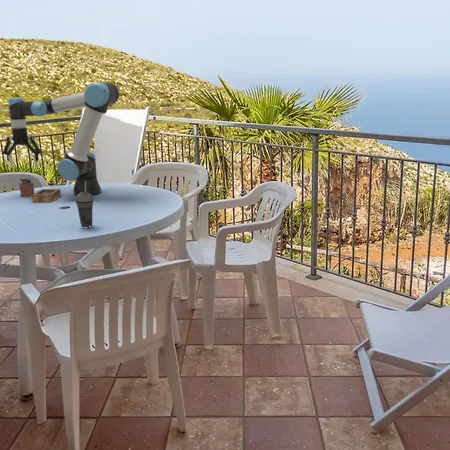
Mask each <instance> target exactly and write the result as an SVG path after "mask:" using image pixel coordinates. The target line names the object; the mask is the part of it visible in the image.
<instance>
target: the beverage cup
mask: <svg viewBox="0 0 450 450" xmlns="http://www.w3.org/2000/svg"><path fill="white" fill-rule="evenodd" d="M75 203H76V206H77V210H78V211H77V212H78V216H79V222H80V226H81V228H82V227H89V226H92V227H93V205H94V199H93V195H91V194H90V193H88V192H86V181H85V191H83V192H80V193H79V194H78V195H76V198H75Z"/></svg>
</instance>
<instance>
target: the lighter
mask: <svg viewBox="0 0 450 450" xmlns="http://www.w3.org/2000/svg"><path fill="white" fill-rule="evenodd" d="M18 185H19V186H18V187H19V191H20V198H32V194H34V193H35V187H34V182H32V179H31V178H19V183H18Z"/></svg>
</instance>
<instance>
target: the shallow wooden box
mask: <svg viewBox="0 0 450 450" xmlns="http://www.w3.org/2000/svg"><path fill="white" fill-rule="evenodd" d="M61 197H62V193H61V189H60V188H59V189H58V188H57V189H56V188H48V189H47V188H43V189H40V190H38V191H36V192H34V194H32V197H31V199H32V200H31V201H32V203H40V204H41V203H42V204H43V203H45V204H46V203H53V202H55V201H57V200H58V199H59V198H61Z"/></svg>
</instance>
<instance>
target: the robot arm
mask: <svg viewBox="0 0 450 450" xmlns="http://www.w3.org/2000/svg"><path fill="white" fill-rule="evenodd" d="M119 99H120V91H119V88H118V87H117V85H115V84H114V83H112V82H109V81H105V82H104V81H95V82H92V83H90V84H88V85H87V86H86V87H85V90H84V91H83V92H78V93H74V94H68V95H65V96H61V97H56V98H51V99H47V100H45V99H44V100H35V101H34V100H33V101H31V100H29V101H25V100H24V98H23V97H9V98H8V100H7V101H8V110H9V115H10V126H11V134H12V136H7V137H6V142H5V145H4V147H3V148H4V149H3V151H2V154H3V155H6V158H7V162H9V168H10V169H11V168H14V160H13V159H14V158H13V155H12V153H13V151H14V150H15V148H16V147H17V146H26V147H27V148H28V150H30V151H31V153H32V154H33V157H32V158H33V164H34V165H33V166H34V168H38V167H39V165H38V164H39V163H38V161H39V159H40V158H39V155H40V154H42V151H41V149H40V147H39V145H38V144H37V142H36V140H35V137H34V136H28V129H27V128H28V127H27V121H26V117H44V116H45V115H46V116H47V115H55V114H57V113H62V112H66V111H72V110H76V109H81V108H85V109H84V112H83V114H82V118H81V121H80V122H79V125H78V128H77V130H76V131H77V132H76V133H75V136H74V139H73V142H72V144H71V147H70V149H67V150H66V151H65V155H64V158H62V159H60V161H59V162H58V163H57V172H58V173H59V176H60V177H61V178H62V179H64V180H67V181H74V185H73V189H72V190H73V195H74V196H77V195H78V194H79V193H80V192H83V191H85V181H86V192H88V193H90V194H91V195H92V196H95V195H98V194H101V193H102V188H101V185H100V183H99V180H98V176H97V173H98V172H97V163H96V155H95V153H94V152H89V150H90V147H91V145H92V142H93V139H94V136H95V135H96V131H97V129H98V127H99V124H100V122H101V120H102V119H101V118H102V116H103V115H105V114H107V112H108V110H109V106H112V105H114V104H116V103H117V102H118V101H119ZM12 141H13V143H12V144H11V142H12ZM29 141H30V142H29ZM10 146H11V147H10Z"/></svg>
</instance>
